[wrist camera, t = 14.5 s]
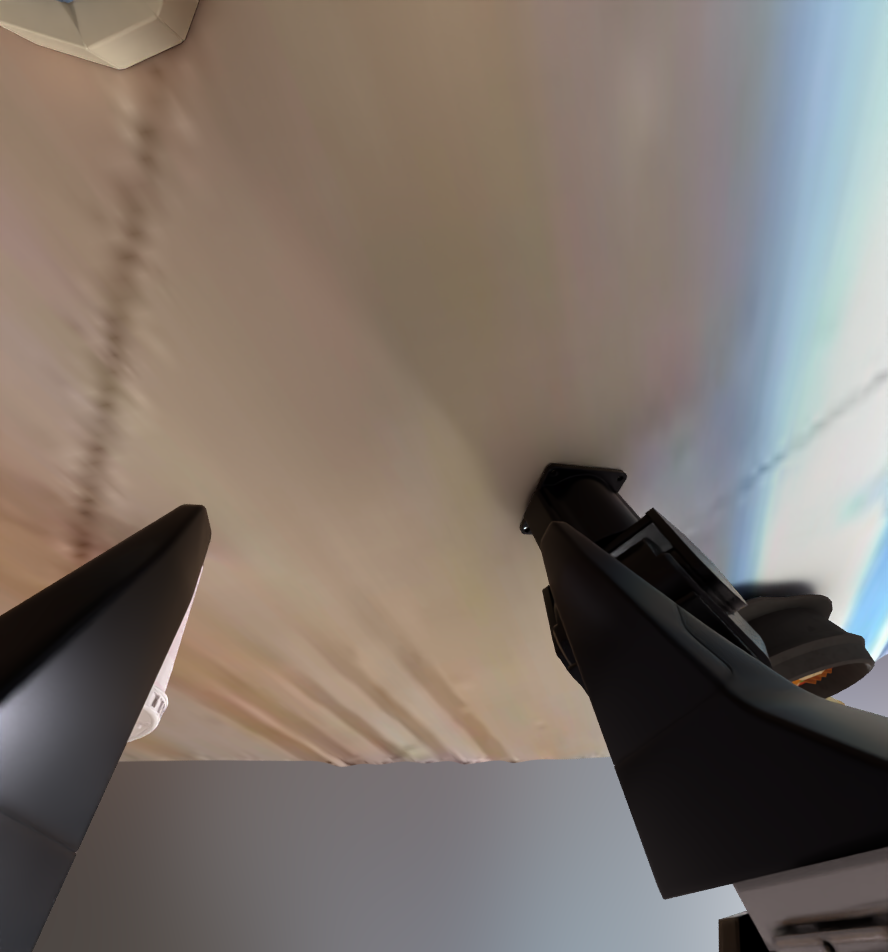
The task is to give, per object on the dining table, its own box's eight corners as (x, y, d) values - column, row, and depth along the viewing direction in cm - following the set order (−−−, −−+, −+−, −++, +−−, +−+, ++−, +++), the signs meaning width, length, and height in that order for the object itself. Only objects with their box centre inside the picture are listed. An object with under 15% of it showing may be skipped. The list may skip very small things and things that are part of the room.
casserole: (632, 647, 45) (677, 722, 38) (767, 556, 37) (854, 631, 30) (724, 670, 56) (772, 732, 49) (845, 604, 48) (921, 667, 41)
